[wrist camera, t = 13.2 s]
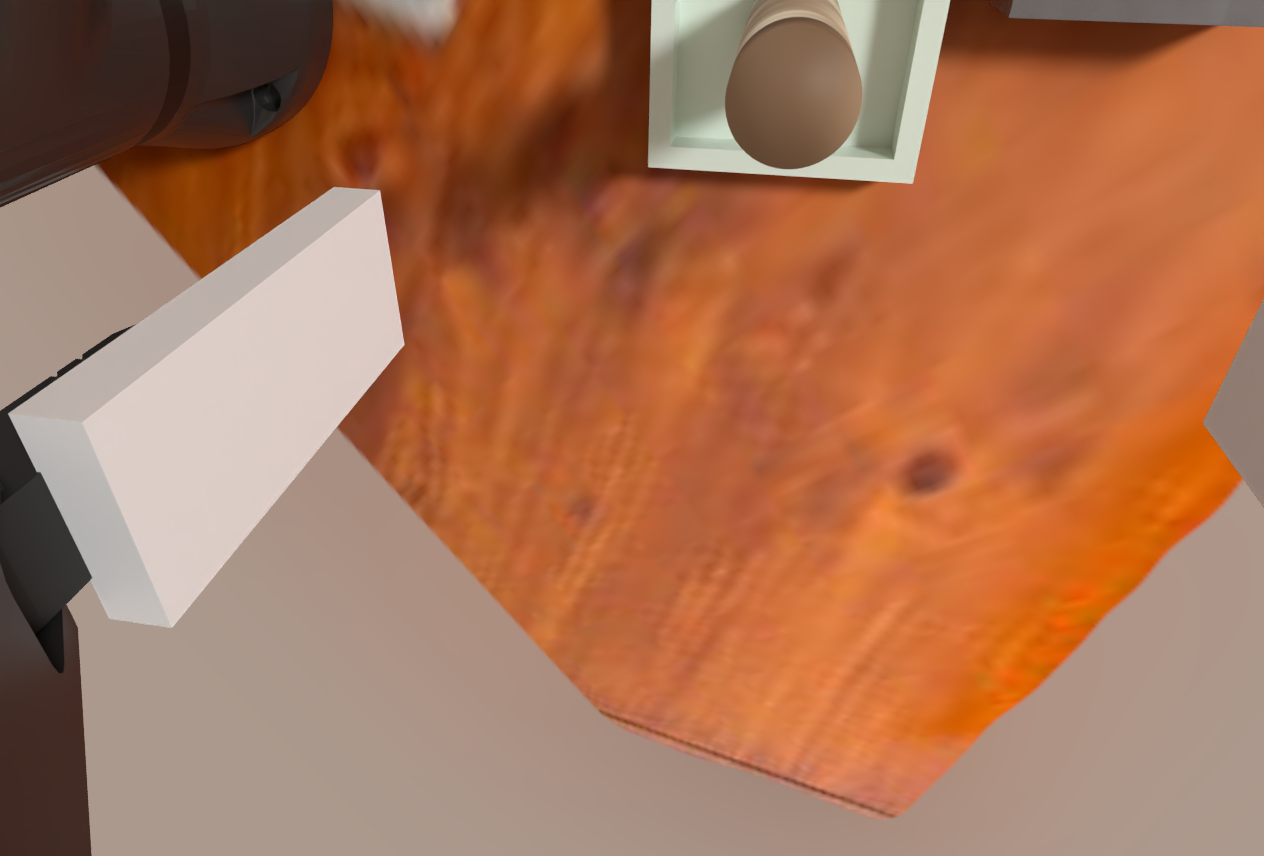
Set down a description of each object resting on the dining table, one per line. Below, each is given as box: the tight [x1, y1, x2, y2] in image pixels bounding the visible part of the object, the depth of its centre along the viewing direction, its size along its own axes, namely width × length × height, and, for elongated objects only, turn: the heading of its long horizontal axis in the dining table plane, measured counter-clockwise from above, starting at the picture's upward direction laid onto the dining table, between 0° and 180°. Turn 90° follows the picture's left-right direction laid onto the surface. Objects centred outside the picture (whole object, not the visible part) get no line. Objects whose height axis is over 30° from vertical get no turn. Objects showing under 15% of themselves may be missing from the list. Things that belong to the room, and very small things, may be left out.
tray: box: [648, 0, 950, 184], centre depth 35 cm, size 12×12×2 cm
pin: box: [725, 0, 863, 169], centre depth 30 cm, size 4×4×14 cm
